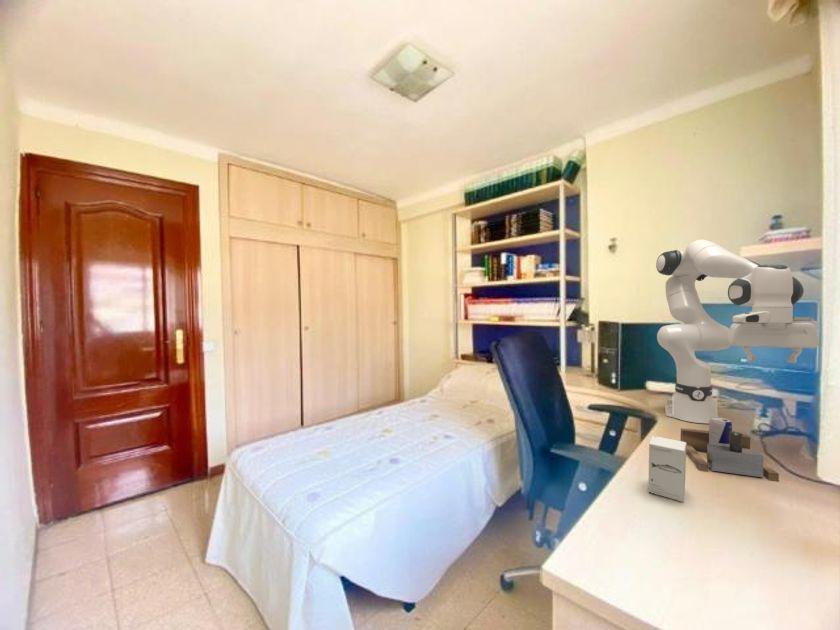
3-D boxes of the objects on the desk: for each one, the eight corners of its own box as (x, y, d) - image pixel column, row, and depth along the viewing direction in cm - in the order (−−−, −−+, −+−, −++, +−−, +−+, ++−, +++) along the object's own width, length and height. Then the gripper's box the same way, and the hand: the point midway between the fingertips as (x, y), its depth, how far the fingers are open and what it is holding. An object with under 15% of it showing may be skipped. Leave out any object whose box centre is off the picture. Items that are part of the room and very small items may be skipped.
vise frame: (680, 446, 116) (680, 427, 116) (746, 454, 109) (746, 434, 109) (699, 470, 99) (699, 448, 99) (778, 481, 93) (778, 457, 93)
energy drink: (736, 462, 104) (736, 422, 104) (715, 461, 105) (715, 421, 105) (724, 455, 109) (724, 416, 109) (704, 453, 110) (705, 416, 110)
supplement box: (647, 493, 88) (647, 443, 87) (651, 481, 93) (651, 434, 93) (684, 503, 83) (684, 450, 83) (686, 490, 88) (686, 441, 88)
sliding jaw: (706, 464, 102) (707, 427, 102) (755, 471, 98) (756, 431, 98) (712, 471, 98) (712, 432, 98) (763, 478, 94) (764, 437, 94)
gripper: (810, 316, 107) (810, 362, 107) (726, 316, 114) (725, 358, 115) (825, 317, 101) (824, 365, 101) (734, 317, 109) (734, 361, 109)
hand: (771, 361), depth 108 cm, fingers open, 8 cm apart
